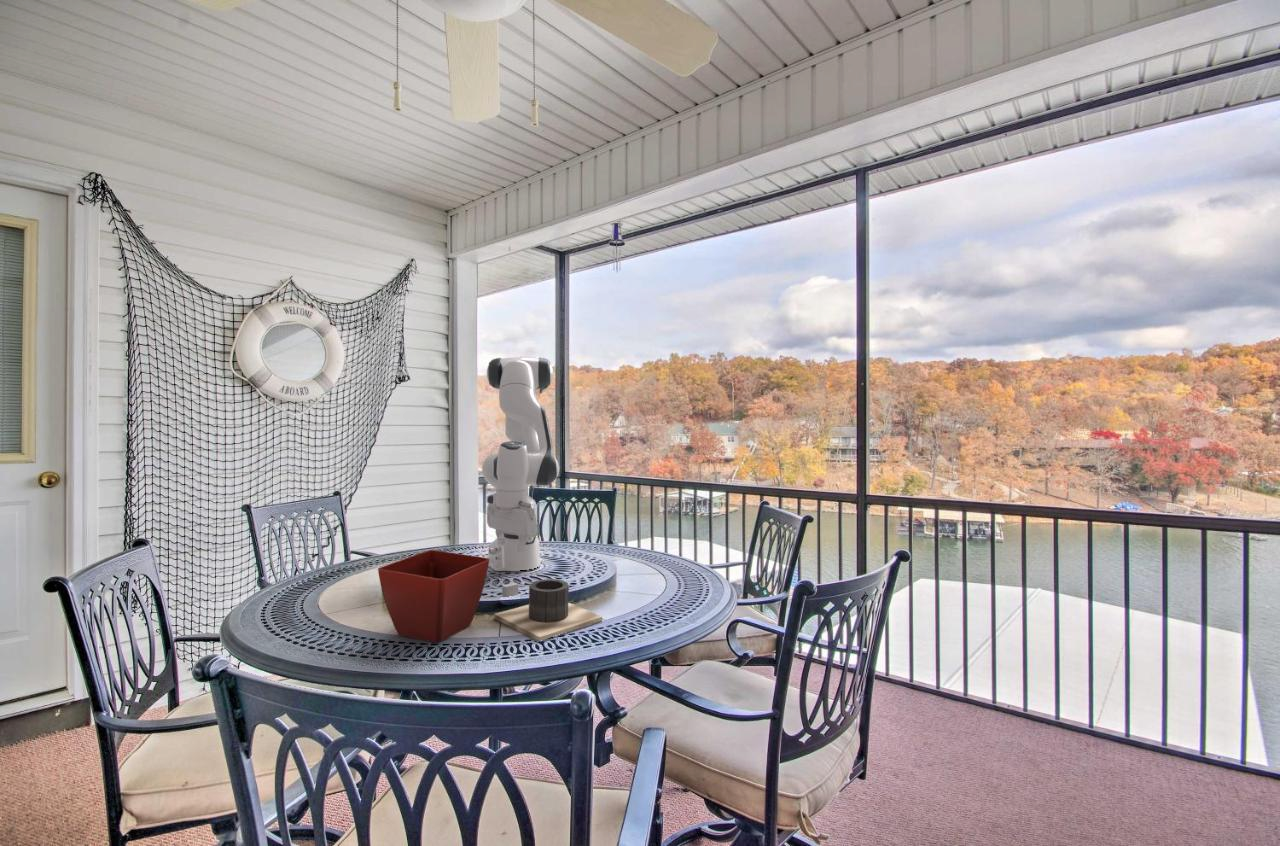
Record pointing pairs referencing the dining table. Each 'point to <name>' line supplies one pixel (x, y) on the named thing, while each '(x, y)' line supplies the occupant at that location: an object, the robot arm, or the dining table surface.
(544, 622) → the stand
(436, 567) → the plant pot
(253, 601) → the dining table surface
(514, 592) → the white short cylinder
